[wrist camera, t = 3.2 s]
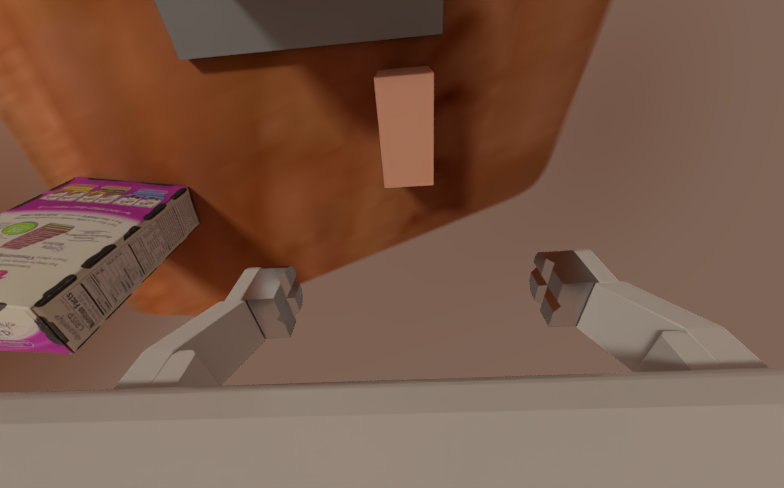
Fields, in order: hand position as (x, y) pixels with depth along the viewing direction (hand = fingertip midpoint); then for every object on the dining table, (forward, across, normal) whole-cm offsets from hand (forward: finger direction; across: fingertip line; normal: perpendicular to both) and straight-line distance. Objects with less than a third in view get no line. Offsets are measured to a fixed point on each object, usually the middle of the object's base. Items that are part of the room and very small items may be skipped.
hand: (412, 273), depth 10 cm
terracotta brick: (+20, 0, 0) cm, 20 cm away
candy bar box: (+20, +28, +6) cm, 35 cm away
